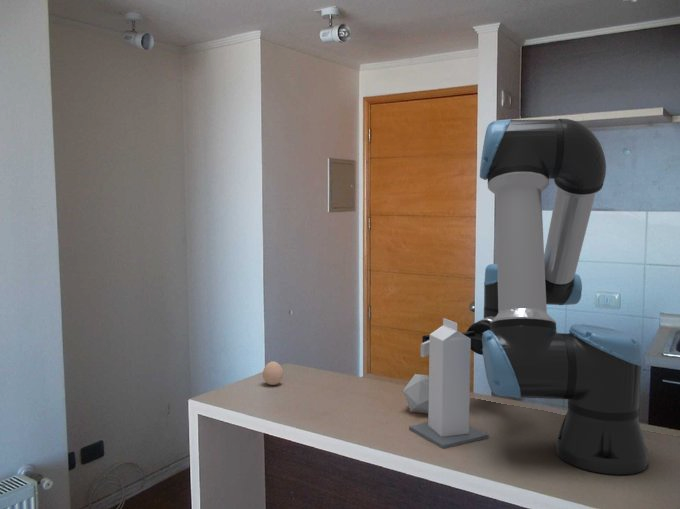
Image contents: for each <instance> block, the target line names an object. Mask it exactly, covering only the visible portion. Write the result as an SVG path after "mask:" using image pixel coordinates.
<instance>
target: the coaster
mask: <svg viewBox="0 0 680 509" xmlns="http://www.w3.org/2000/svg"><path fill="white" fill-rule="evenodd" d="M408 429H409V430H410V431H411V432H413V433H415V434H417V435H419V436H420V437H422V438H424V439H426V440H428V441H429V442H431V443H433V444H435V445H437V446H438V447H440V448H442V449H447V448H450V447H454V446H459V445H463V444H468V443H471V442H477V441H480V440H485V439H488V438H489V434H488V433H486V432H484V431H481V430H479V429H477V428H475V427H473V426H472V425H469V434H463V435H454V436H446V437H441V436H440V435H438V434H437V433H436V432H435V431H433V430H432V429H431V428H430V427H429V426H428V422H424V423H419V424H414V425H409V427H408Z"/></svg>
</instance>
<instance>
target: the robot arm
mask: <svg viewBox="0 0 680 509" xmlns="http://www.w3.org/2000/svg"><path fill="white" fill-rule="evenodd" d="M604 152H605V151H604V149H603V146H602V144H601V143H600V141H599V139H598V138H597V137H596V135H595V134H594V132H592V130H591V129H589V128H588V127H587V126H586V125H584V124H583V123H581V122H579V121H577V120H574V119H570V118H569V119H568V118H556V119H555V118H553V119H549V118H547V119H546V118H545V119H512V118H509V119H504V120H503V119H502V120H501V119H500V120H493V121H491V122H490V123H489V124H488V125H487V127H486V129H485V135H484V140H483V146H482V153H481V159H480V168H479V178H480V180H481V179H482V180H484V181H487V190H489V191H490V192H491V193H492V194H494V195H495V213H496V214H495V218H496V219H495V220H496V221H495V223H496V224H495V225H496V263H491V264H488V265H487V266H486V267H485V268H484V269H485V272H484V283H483V285H484V286H483V288H484V289H483V290H484V291H483V294H484V296H483V297H484V300H483V302H484V304H483V318H482V319H480V320H478V321H476V322H474V323H473V324H471V325H470V326H469V327H468V329H467V331H466V332H461V333H462V334H463V335H465V336H467V337H469V338H470V339H471V351H473V353H475V354H477V355H481V356H482V357H483V365H484V366H483V367H484V370H485V376H486V380H487V383H488V386H489V389H490V390H491V392H493V394H495V395H496V396H499V397H509V398H516V399H522V398H524V399H525V398H526V399H548V400H549V399H551V400H552V399H553V400H567V411H566V414H565V416H564V419H563V422H562V423H561V427H560V430H559V432H558V434H557V436H556V445H555V451H556V455H557V456H558V458H560V459H561V460H562V461H564V462H566V463H567V464H570V465H572V466H574V467H576V468H579V469H582V470H585V471H590V472H594V473H599V474H605V475H632V474H637V473H640V472H641V473H642V472H643V471H644V470H646V469H647V468H648V466H647V465H648V464H649V452H648V451H649V449H648V448H647V446H646V443H645V438H644V435H643V432H642V427H641V424H640V421H639V414H640V413H639V411H640V410H639V408H640V394H641V393H640V390H641V371H642V366H643V362H642V351H641V348H642V346H641V343H640V341H639V340H638V338H636V337H635V336H633V335H631V334H629V333H627V332H624V331H620V330H618V329H614V328H608V327H604V326H600V325H594V324H593V325H592V324H584V323H583V324H582V323H581V324H578V323H577V324H572V325H571V326H570V328H568V329H569V330H568V332H569V333H561V332H558V331H557V322H556V320H555V319H553V318H552V317H551V316H550V315H549V314H548V312H547V306H549V305H551V306H567V305H568V306H569V305H577V304H578V303H579V302H580V301H581V298H582V291H583V282H582V278H581V276H580V275H579V274H578V273H576V272H577V267H578V265H579V260H580V256H581V252H582V248H583V243H584V239H585V236H586V232H587V228H588V225H589V221H590V216H591V213H592V210H593V209H592V208H593V205H594V202H595V196H596V194H598V192H600V191H601V190H602V188H603V186H604V183H605V179H606V171H607V164H606V157H605V156H606V155H605V153H604ZM552 179H553V183H554V185H555V187H556V192H555V198H554V203H553V207H552V208H553V209H552V214H551V218H550V223H549V228H548V234H547V239H546V243H545V245H544V242H545V241H544V224H543V221H544V220H543V205H542V204H543V200H542V192H544V191H545V190H546V189H547V188H548V187H549V186H550V180H552ZM421 341H422V342H421V343H420V357H421V358H425V357H428V356H429V347H430V334H427V335H422V339H421ZM646 467H647V468H646Z"/></svg>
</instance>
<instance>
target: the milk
mask: <svg viewBox="0 0 680 509" xmlns="http://www.w3.org/2000/svg"><path fill="white" fill-rule="evenodd" d="M462 333H463V332H461V331H458V323H457V322H456V321H453V320H450V319H447V318H445V317H443V319H442V325H441V326H439V327H438V328H437V329H435V330H434V331H433V332H431V333H429V335H430V347H429V355H428V356H429V357H428V363H429V364H428V376H429V413H428V414H427V415H428V416H427V417H428V418H427V419H428V420H427V423H428V426H429V427H430V428H431V429H432V430H433V431H435V432H436V433H437V434H438V435H440V436H441V437H446V436H454V435H463V434H469V426H470V400H471V399H470V398H471V397H470V393H471V392H470V391H471V389H470V388H471V351H472V350H471V339H470V338H469V337H467V336H465V335H463V334H462Z"/></svg>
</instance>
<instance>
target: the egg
mask: <svg viewBox="0 0 680 509" xmlns="http://www.w3.org/2000/svg"><path fill="white" fill-rule="evenodd" d="M262 378H263V381H265V383H266V384H267V385H270V386H275V385H276V386H277V385H278V384H280V382H281V381H282V380H283V378H284V371H283V368H282V365H280V364H279V363H278V362H276V361H270V362H268V363H266V365H265V366H264V367H263V371H262Z"/></svg>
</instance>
